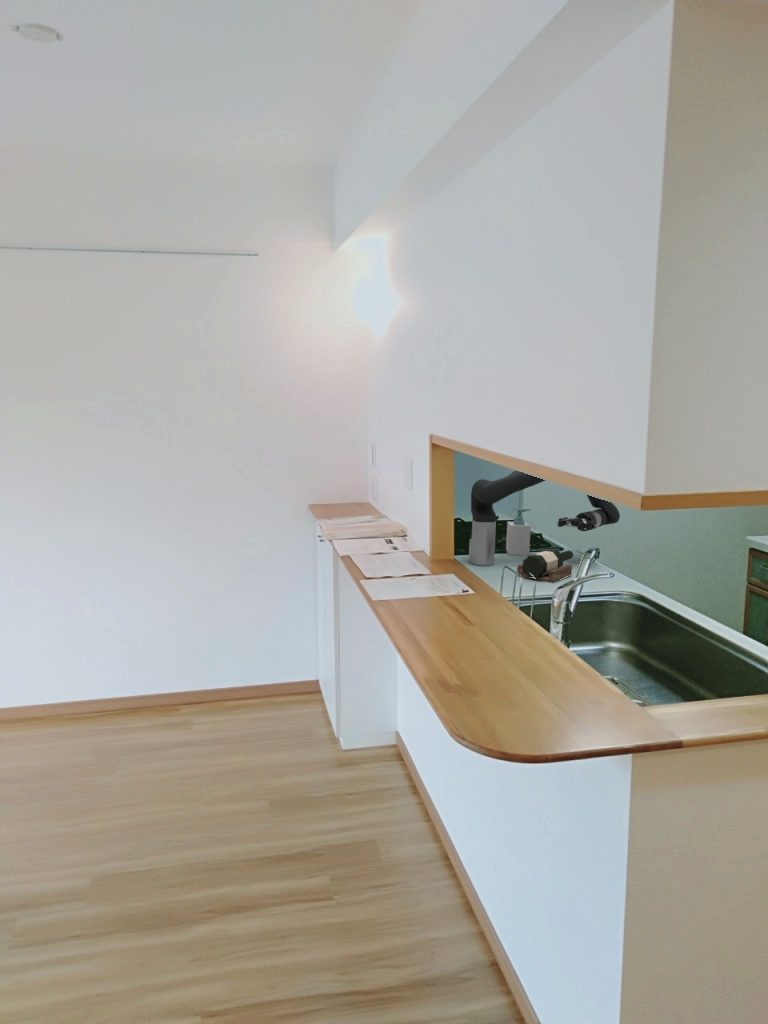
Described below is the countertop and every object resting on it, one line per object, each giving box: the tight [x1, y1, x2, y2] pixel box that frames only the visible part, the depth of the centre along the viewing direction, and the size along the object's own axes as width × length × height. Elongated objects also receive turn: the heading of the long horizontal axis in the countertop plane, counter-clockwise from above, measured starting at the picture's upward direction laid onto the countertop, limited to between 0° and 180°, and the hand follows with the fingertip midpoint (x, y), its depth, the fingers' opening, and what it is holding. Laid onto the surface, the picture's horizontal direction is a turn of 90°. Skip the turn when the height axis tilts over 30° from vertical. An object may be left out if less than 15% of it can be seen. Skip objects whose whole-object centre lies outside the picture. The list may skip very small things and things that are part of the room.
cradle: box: [517, 563, 573, 584], centre depth 296 cm, size 15×14×4 cm
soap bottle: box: [505, 508, 532, 556], centre depth 332 cm, size 9×9×19 cm
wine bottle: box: [522, 548, 574, 578], centre depth 301 cm, size 8×8×30 cm
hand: (568, 525), depth 306 cm, fingers open, 8 cm apart
